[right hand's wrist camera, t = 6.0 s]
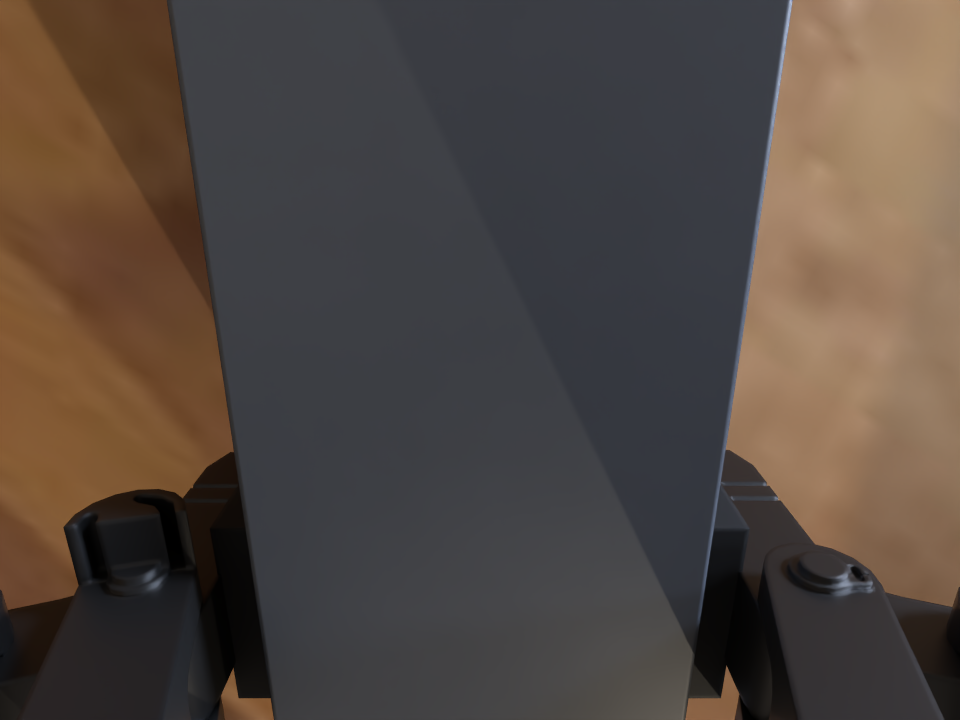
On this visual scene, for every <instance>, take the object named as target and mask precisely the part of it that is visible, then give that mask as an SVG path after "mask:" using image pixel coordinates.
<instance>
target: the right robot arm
mask: <svg viewBox="0 0 960 720" xmlns="http://www.w3.org/2000/svg"><path fill="white" fill-rule="evenodd" d="M64 531H65V535H66V539H67V543H68V546H69V550H70V554H71V558H72V562H73V565H74V569H75V573H76V577H77V580H78V584H79V586H78V588H77V590H76V592H75V595H74V596H70V597H67V598H63V599H59V600H54V601H50V602H45V603H40V604H35V605H30V606H25V607H21V608H16V609H11V610H8V609H7V606H6V603H5V600H4V597H3V594H2V591H1V590H0V720H225V718H224V711H223V705H222V699H221V694H222V692H223V690H224V687H225V685H226V683H227V681H228V678H229V676H230V674H231V672H232V669H233V668H234V673H235V679H236V685H237V691H238V697H239V698H271V696H270V689H269V682H268V676H267V669H266V662H265V656H264V649H263V642H262V635H261V629H260V622H259V615H258V609H257V602H256V595H255V589H254V582H253V575H252V568H251V562H250V555H249V548H248V542H247V535H246V528H245V521H244V515H243V508H242V501H241V495H240V488H239V481H238V474H237V468H236V461H235V454H234V452H230V453H228V454H227V455H225V456H224V457H222V458H221V459H219V460H218V461H216V462H214V463H213V464H211V465H210V466H208V467H207V468H206V469H205V470H204V472H203V473H202V474H201V476H200V477H199V478H198V479H197V481H196V482H195V483H194V485H193V488H190V490H189V491H188V492H187V494H186V495H185V496H184V497H183V498H181V497H180V496H179V495H178V494H176V493H174V492H170V491H165V490H161V489H148V490H135V491H130V492H126V493H121V494H116V495H113V496H111V497H108V498H105V499H103V500H100V501H98V502H95V503H93V504H91V505H90V506H88V507H86V508H85V509H83V510H81V511H80V512H78V513H77V514H75V515H74V516H73V517H72V518H71V519H70V521H69V522H68V523H67V524H66V525H65V526H64ZM726 665H727V667H728V669H729V672H730V674H731V676H732V678H733V681H734V683H735V685H736V687H737V690H738V692H739V699H738V705H737V710H736V716H735V720H960V587H959V588H958V592H957V595H956V598H955V601H954V604H953V607H949V606H944V605H939V604H934V603H929V602H924V601H919V600H915V599H910V598H905V597H900V596H896V595H893V594H889V593H885V591H884V589H883V587H882V585H881V583H880V582H879V581H878V580H877V578H876V577H875V576H874V574H873V573H872V572H871V571H870V570H869V569H868V568H866V567H865V566H864V565H862V564H861V563H859V562H858V561H857V560H855V559H854V558H852V557H850V556H847V555H845V554H843V553H841V552H838V551H836V550H834V549H831V548H827V547H823V546H819V545H815V544H814V543H813V541H812V540H811V539H810V538H809V536H808V535H807V534H806V532H805V531H804V530H803V529H802V527H801V526H800V525H799V524H798V522H797V521H796V520H795V518H794V517H793V516H792V515H791V513H790V512H789V511H788V509H787V508H786V507H785V506H784V504H783V503H782V502H781V501H778V497H777V495H776V494H775V493H774V491H773V490H772V489H771V488H770V486H767V485H766V481H765V480H764V479H763V477H762V476H761V475H760V474H759V472H758V471H757V470H756V468H755V467H754V466H753V465H752V464H750V463H749V462H747V461H746V460H744V459H743V458H741V457H739V456H738V455H736V454H735V453H733V452H731V451H730V450H725V456H724V463H723V470H722V477H721V483H720V490H719V497H718V503H717V510H716V517H715V523H714V530H713V537H712V544H711V550H710V557H709V564H708V570H707V577H706V584H705V591H704V597H703V604H702V611H701V617H700V624H699V631H698V637H697V644H696V651H695V658H694V664H693V671H692V678H691V684H690V691H689V698H721V694H722V688H723V682H724V676H725V670H726Z"/></svg>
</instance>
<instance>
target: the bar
mask: <svg viewBox="0 0 960 720" xmlns="http://www.w3.org/2000/svg"><path fill="white" fill-rule="evenodd" d="M792 1H793V0H167V5H168V11H169V18H170V25H171V32H172V38H173V45H174V52H175V58H176V65H177V72H178V79H179V85H180V92H181V99H182V105H183V112H184V119H185V126H186V132H187V139H188V146H189V152H190V159H191V166H192V172H193V179H194V186H195V193H196V199H197V206H198V213H199V219H200V226H201V233H202V240H203V246H204V253H205V260H206V266H207V273H208V280H209V287H210V293H211V300H212V307H213V313H214V320H215V327H216V334H217V340H218V347H219V354H220V360H221V367H222V374H223V381H224V387H225V394H226V401H227V407H228V414H229V421H230V427H231V434H232V441H233V448H234V454H235V461H236V468H237V474H238V481H239V488H240V495H241V501H242V508H243V515H244V521H245V528H246V535H247V542H248V548H249V555H250V562H251V568H252V575H253V582H254V589H255V595H256V602H257V609H258V615H259V622H260V629H261V635H262V642H263V649H264V656H265V662H266V669H267V676H268V682H269V689H270V696H271V703H272V709H273V716H274V720H685V718H686V711H687V704H688V698H689V691H690V684H691V678H692V671H693V664H694V658H695V651H696V644H697V637H698V631H699V624H700V617H701V611H702V604H703V597H704V591H705V584H706V577H707V570H708V564H709V557H710V550H711V544H712V537H713V530H714V523H715V517H716V510H717V503H718V497H719V490H720V483H721V477H722V470H723V463H724V456H725V450H726V443H727V436H728V430H729V423H730V416H731V410H732V403H733V396H734V389H735V383H736V376H737V369H738V363H739V356H740V349H741V342H742V336H743V329H744V322H745V316H746V309H747V302H748V296H749V289H750V282H751V275H752V269H753V262H754V255H755V249H756V242H757V235H758V229H759V222H760V215H761V208H762V202H763V195H764V188H765V182H766V175H767V168H768V161H769V155H770V148H771V141H772V135H773V128H774V121H775V115H776V108H777V101H778V94H779V88H780V81H781V74H782V68H783V61H784V54H785V48H786V41H787V34H788V27H789V21H790V14H791V7H792Z"/></svg>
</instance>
